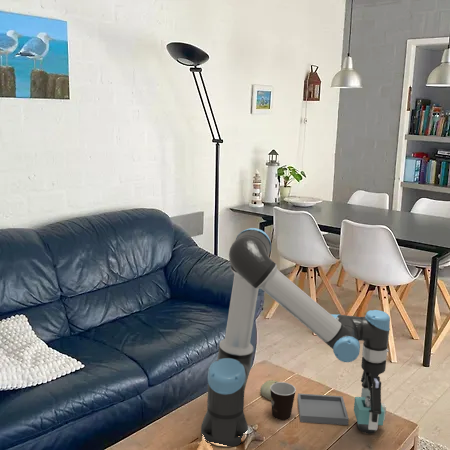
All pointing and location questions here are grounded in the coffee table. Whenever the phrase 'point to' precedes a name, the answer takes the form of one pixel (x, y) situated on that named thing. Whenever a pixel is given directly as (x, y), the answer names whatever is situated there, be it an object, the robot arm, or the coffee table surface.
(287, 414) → the coffee mug
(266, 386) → the sea urchin shell
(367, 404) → the cylinder
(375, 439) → the coffee table surface
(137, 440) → the coffee table surface
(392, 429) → the coffee table surface
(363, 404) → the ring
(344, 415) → the tray
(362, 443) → the coffee table surface
